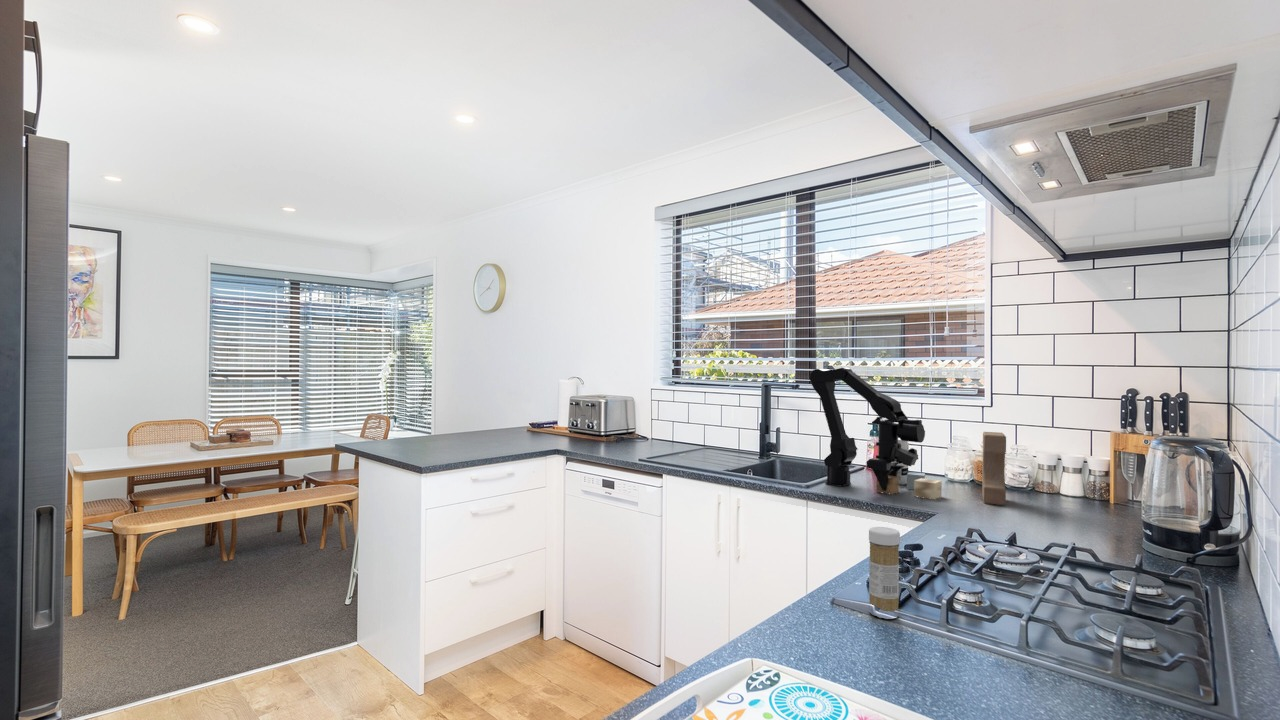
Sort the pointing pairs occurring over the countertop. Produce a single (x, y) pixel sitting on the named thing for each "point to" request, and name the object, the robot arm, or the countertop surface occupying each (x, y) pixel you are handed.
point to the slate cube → (913, 478)
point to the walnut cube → (890, 485)
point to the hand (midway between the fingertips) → (887, 489)
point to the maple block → (927, 488)
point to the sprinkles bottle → (884, 568)
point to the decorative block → (994, 468)
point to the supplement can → (903, 472)
